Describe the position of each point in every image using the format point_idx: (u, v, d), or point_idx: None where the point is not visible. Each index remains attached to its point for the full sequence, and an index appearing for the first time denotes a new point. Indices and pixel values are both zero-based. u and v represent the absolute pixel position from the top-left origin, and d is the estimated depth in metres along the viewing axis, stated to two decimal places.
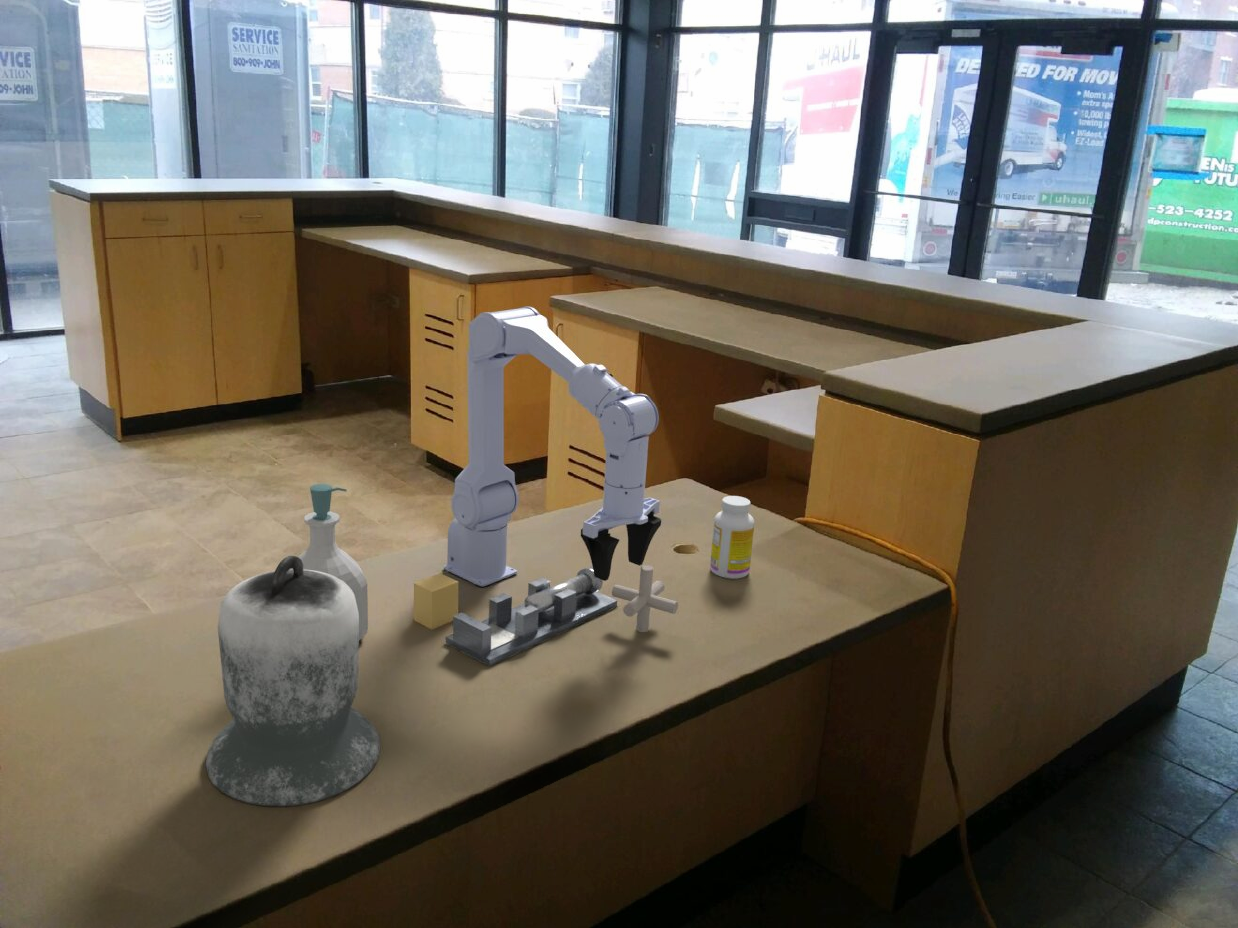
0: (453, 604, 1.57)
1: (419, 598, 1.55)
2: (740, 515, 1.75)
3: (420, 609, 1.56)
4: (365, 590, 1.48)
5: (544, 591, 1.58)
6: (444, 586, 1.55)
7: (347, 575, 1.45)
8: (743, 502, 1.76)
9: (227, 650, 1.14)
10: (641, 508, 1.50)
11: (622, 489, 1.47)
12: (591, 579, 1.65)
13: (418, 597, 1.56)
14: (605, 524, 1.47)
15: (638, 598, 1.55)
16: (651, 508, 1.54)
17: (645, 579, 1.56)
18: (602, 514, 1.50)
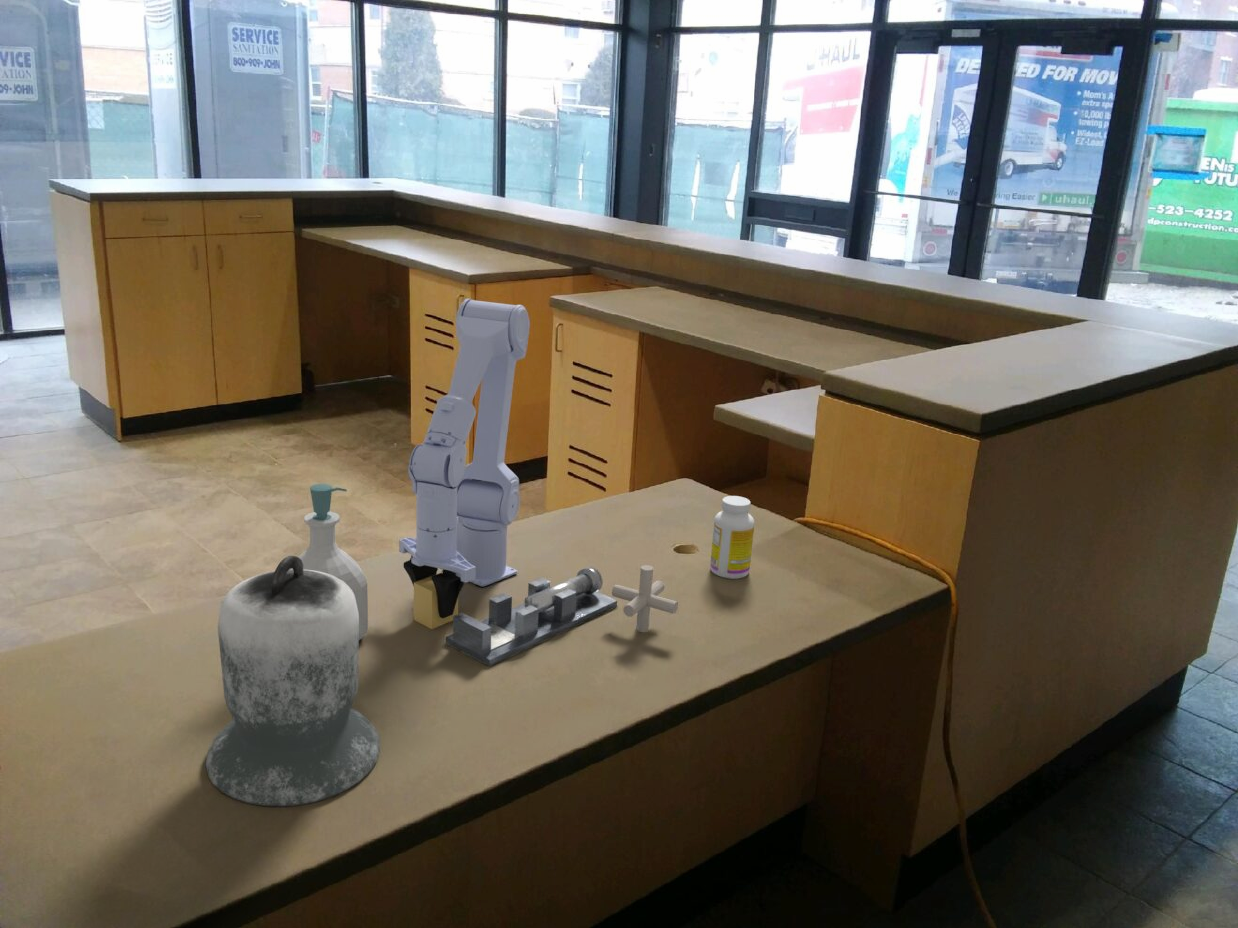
0: None
1: (419, 597, 1.55)
2: (740, 515, 1.75)
3: (420, 609, 1.56)
4: (365, 590, 1.48)
5: (544, 591, 1.58)
6: None
7: (347, 575, 1.45)
8: (743, 502, 1.76)
9: (227, 650, 1.14)
10: (424, 553, 1.52)
11: None
12: (591, 579, 1.65)
13: (418, 597, 1.56)
14: (405, 546, 1.57)
15: (638, 598, 1.55)
16: (449, 567, 1.51)
17: (645, 579, 1.56)
18: None
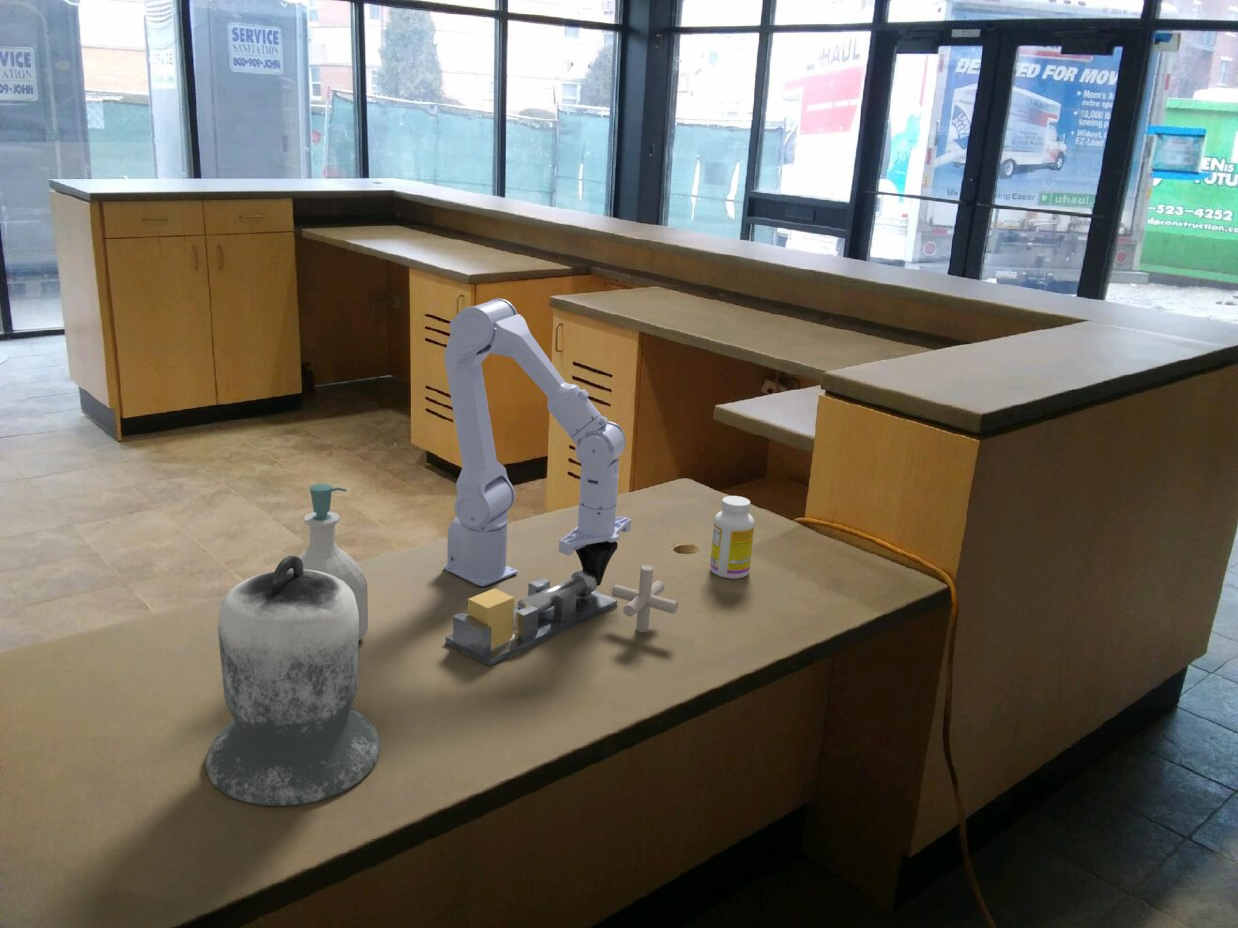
0: (508, 621, 1.51)
1: (474, 614, 1.49)
2: (740, 515, 1.75)
3: None
4: (365, 590, 1.48)
5: (538, 594, 1.57)
6: (500, 602, 1.49)
7: (347, 575, 1.45)
8: (742, 502, 1.76)
9: (227, 650, 1.14)
10: (613, 527, 1.63)
11: (595, 510, 1.60)
12: (585, 582, 1.64)
13: (472, 613, 1.49)
14: (579, 542, 1.60)
15: (638, 598, 1.55)
16: (623, 527, 1.67)
17: (645, 579, 1.56)
18: (577, 532, 1.63)
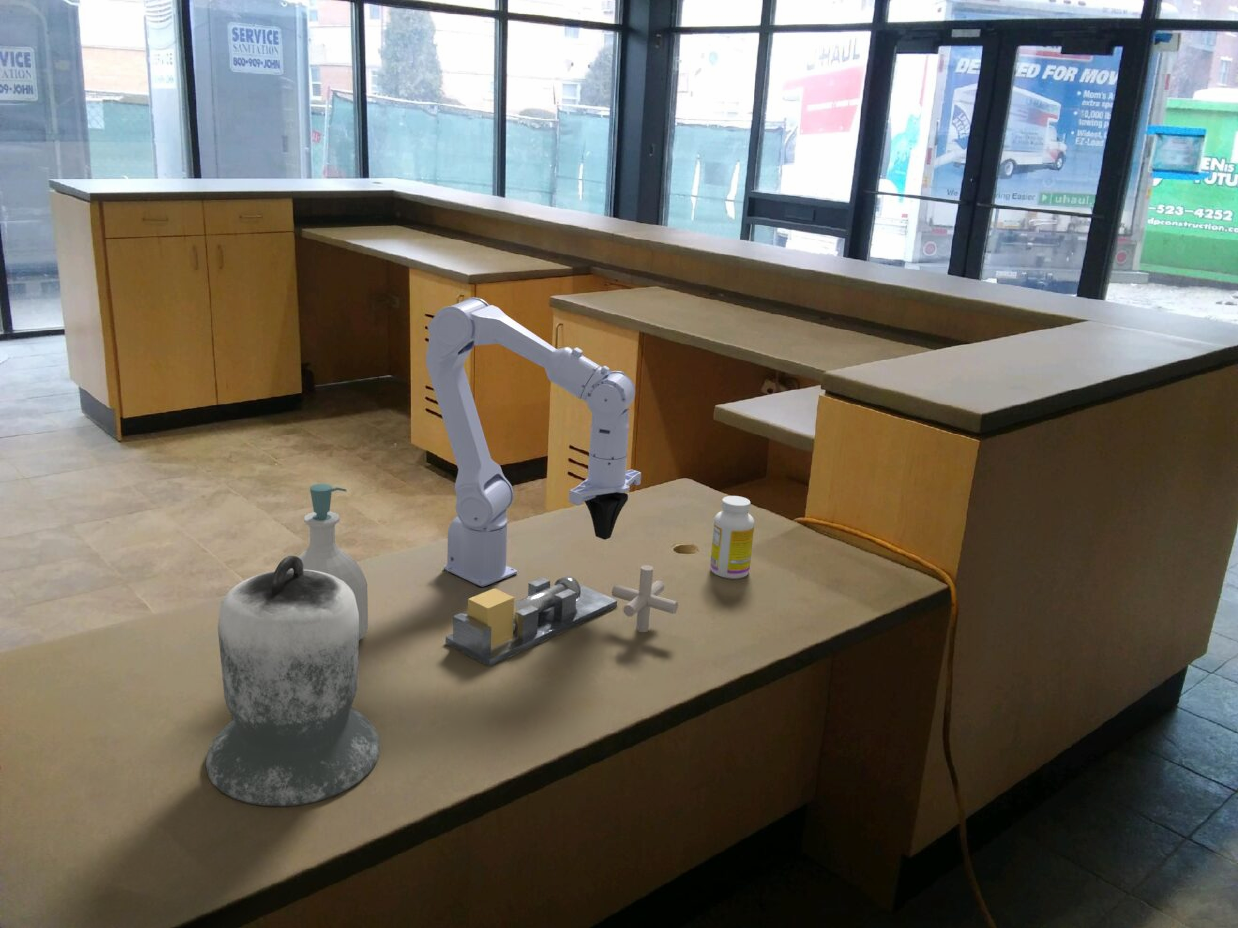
0: (508, 621, 1.51)
1: (474, 614, 1.49)
2: (740, 515, 1.75)
3: None
4: (365, 590, 1.48)
5: (520, 601, 1.55)
6: (500, 602, 1.49)
7: (347, 575, 1.45)
8: (743, 502, 1.76)
9: (227, 650, 1.14)
10: (623, 478, 1.62)
11: (605, 460, 1.59)
12: None
13: (472, 613, 1.49)
14: (589, 492, 1.59)
15: (638, 598, 1.55)
16: (633, 479, 1.66)
17: (645, 579, 1.56)
18: (587, 484, 1.62)
